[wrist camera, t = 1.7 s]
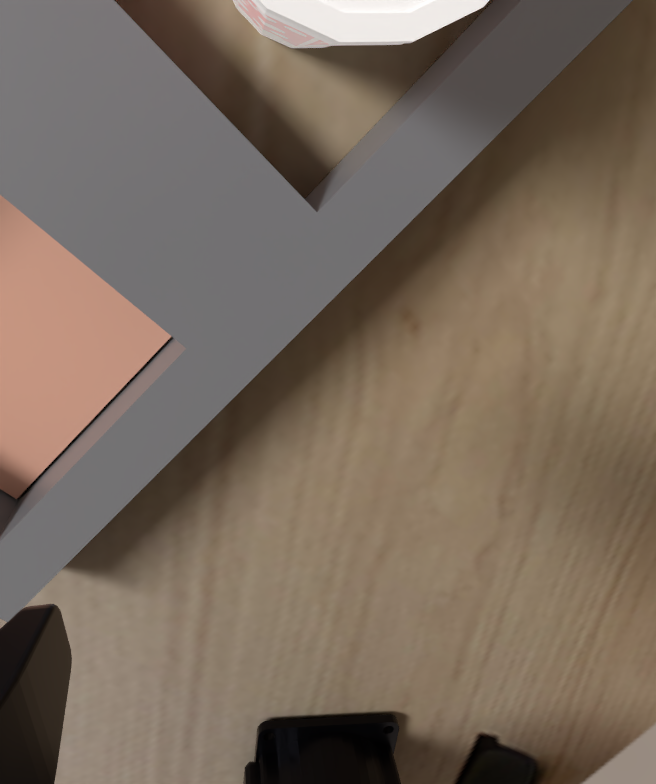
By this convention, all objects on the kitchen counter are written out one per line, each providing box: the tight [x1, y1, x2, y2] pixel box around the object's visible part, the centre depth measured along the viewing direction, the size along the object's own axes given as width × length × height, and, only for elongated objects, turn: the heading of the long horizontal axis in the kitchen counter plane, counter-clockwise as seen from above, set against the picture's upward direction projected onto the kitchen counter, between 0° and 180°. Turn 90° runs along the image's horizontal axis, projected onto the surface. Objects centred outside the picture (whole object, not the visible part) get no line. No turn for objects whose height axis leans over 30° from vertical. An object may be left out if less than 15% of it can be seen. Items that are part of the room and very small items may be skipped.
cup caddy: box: [0, 0, 633, 622], centre depth 17 cm, size 27×13×3 cm, turn 134°
